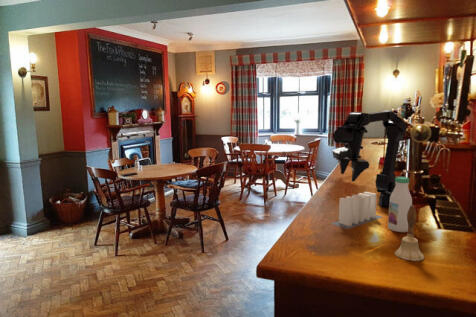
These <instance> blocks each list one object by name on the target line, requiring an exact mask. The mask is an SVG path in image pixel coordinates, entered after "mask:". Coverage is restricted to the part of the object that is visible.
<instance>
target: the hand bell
mask: <svg viewBox="0 0 476 317" xmlns="http://www.w3.org/2000/svg"><path fill="white" fill-rule="evenodd" d="M416 220H417V211H416V207H415V205H413V204H412V205H411V206H410V208H409V210H408V212H407V222H408V232H406V233H407V234H406V236H404V237H402V238H401V242H400V246H399V247H398V249H396V250H395V251H394V255H395V256H396V257H397V258H398V259H401V258H402V260H405V261H409V260H410V261H411V262H420V261H423V260H424V259H425V255H424V254H423V253H422V251H420V246H419V240H418V239H417V238H416V237H414V231H415V230H414V226H415V223H416Z"/></svg>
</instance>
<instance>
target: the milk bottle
mask: <svg viewBox="0 0 476 317" xmlns="http://www.w3.org/2000/svg"><path fill="white" fill-rule="evenodd" d="M395 183H396V186H395V188H394V190H393V192H392V194H391V196H390V202H389V208H388V220H387V227H388V229H389V230H391V231H394V232H397V233H398V232H399V233H407V232H408V222H407V212H408V210H409V208H410V206H411V205H412V206H413V199H412V195H411V193H410V190H409V184H410V178H409V177H407V176H396V178H395Z"/></svg>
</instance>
